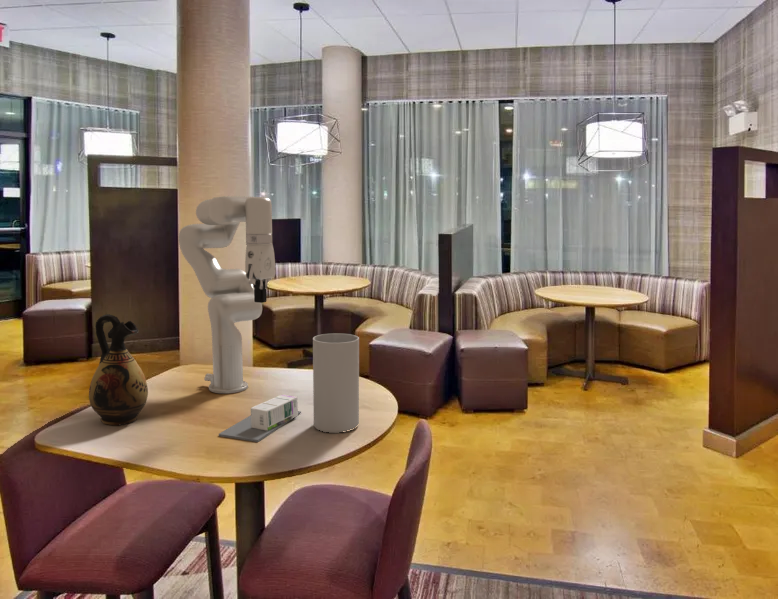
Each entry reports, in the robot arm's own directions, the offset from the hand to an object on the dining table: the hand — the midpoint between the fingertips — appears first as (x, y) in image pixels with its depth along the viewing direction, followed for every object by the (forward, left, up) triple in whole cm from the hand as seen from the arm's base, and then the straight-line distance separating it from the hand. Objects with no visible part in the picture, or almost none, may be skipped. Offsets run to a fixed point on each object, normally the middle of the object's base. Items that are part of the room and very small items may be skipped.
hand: (260, 301), depth 187 cm
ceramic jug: (-32, -25, -32) cm, 52 cm away
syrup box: (+10, -20, -29) cm, 36 cm away
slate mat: (+8, -14, -32) cm, 36 cm away
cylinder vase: (+28, -8, -32) cm, 43 cm away
